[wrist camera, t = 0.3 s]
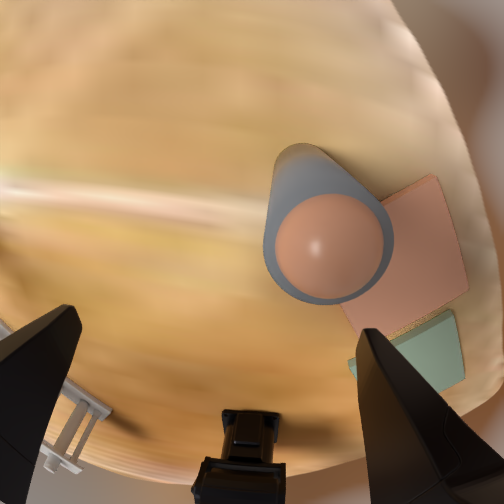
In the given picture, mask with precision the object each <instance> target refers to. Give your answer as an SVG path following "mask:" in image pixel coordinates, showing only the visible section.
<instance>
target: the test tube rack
mask: <svg viewBox="0 0 504 504" xmlns="http://www.w3.org/2000/svg"><path fill="white" fill-rule="evenodd" d="M12 333H14V331H12V330H11V329H10V328H9V327H8V326H7V325H6V324H5V323H4V322H3V321H2V320H1V319H0V340H2V339H4V338H5V337H7V336H9V335H10V334H12ZM61 393H62V394H63V395H64V396H66V397H67V398H68V399H70V400H71V401H73V402H74V403H75V404H77V406H76V407H75V409H74V411H73V412H72V414H71V416H70V418H69V419H68V421H67V423H66V425H65V426H64V428H63V430H62V432H61V434H60V435H59V437H58V439H57V441H56V443H55V445H54V446H53V448H51V447H50V446H48V445H47V444H46V443H44V442H43V441H42V444H41V447H40V451H41V452H42V453H44V454H45V455H47V456H48V458H47V460H46V462H44V463H45V465H44V468H46V469H47V470H49V471H50V472H52V473H55V471H57V468H58V466H59V464H61V465H62V466H63V467H65V468H67V469H69V470H70V471H72V472H73V473H75V474H77V473H79V472H81V471H82V470H83V467H81V466H79V465H78V464H77V459H78V457H79V455H80V453H81V451H82V449H83V447H84V445H85V443H86V441H87V439H88V437H89V435H90V433H91V431H92V429H93V427H94V425H95V423H96V421H97V419H99V420H101V421H103V420H104V419H105V418H106V417H107V416H108V415H109V414H110V413H111V411H112V408H110V407H109V406H107V405H105V404H104V403H102V402H101V401H99V400H98V399H97V398H95V397H94V396H92V395H91V394H89V393H88V392H86V391H85V390H84V389H82V388H81V387H79V386H78V385H77V384H75V383H74V382H73V381H71V380H70V379H69V378H67V377H66V378H65V381H64V383H63V386H62V388H61V391H60V393H59V396H60V394H61ZM59 396H58V397H59ZM86 412H88V413H90V414H91V415H92V418H91V420H90V422H89V424H88V426H87V427H86V429H85V431H84V433H83V435H82V437H81V439H80V441H79V443H78V445H77V447H76V449H75V451H74V453H73V455H72V457H70V459H68V458H66V457H65V456H64V454H65V452H66V450H67V449H68V447H69V445H70V443H71V441H72V439H73V437H74V435H75V433H76V431H77V429H78V428H79V426H80V424H81V422H82V420H83V418H84V416H85V414H86Z"/></svg>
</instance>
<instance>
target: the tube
mask: <svg viewBox="0 0 504 504" xmlns="http://www.w3.org/2000/svg"><path fill="white" fill-rule="evenodd" d="M393 248H394V232H393V226H392V223H391V220H390V217H389V215H388V213H387V211H386V210H385V208H384V207H383V205H382V204H381V203H380V202H379V201H378V200H377V199H376V198H375V197H374V196H373V195H372V194H371V193H370V192H369V191H368V190H367V189H366V188H365V187H364V186H362V185H361V184H360V183H359V182H358V181H357V180H356V179H355V178H353V177H352V176H351V175H350V174H349V173H348V172H347V171H345V170H344V169H343V168H342V167H341V166H340V165H339V164H337V163H336V162H335V161H334V160H333V159H331V158H330V157H329V156H328V155H327V154H325V153H324V152H323V151H322V150H320V149H319V148H318V147H316V146H314V145H311V144H306V143H299V144H294V145H291V146H289V147H287V148H286V149H284V150H283V151H282V152H281V153H280V154H279V156H278V157H277V159H276V162H275V165H274V171H273V178H272V185H271V192H270V198H269V205H268V212H267V219H266V226H265V232H264V240H263V253H264V259H265V263H266V266H267V269H268V271H269V273H270V275H271V276H272V278H273V279H274V281H275V282H276V283H277V284H278V285H279V286H280V287H281V289H283V290H284V291H285V292H286V293H288V294H289V295H291V296H293V297H294V298H296V299H299V300H301V301H304V302H307V303H311V304H317V305H333V304H340V303H343V302H347V301H350V300H352V299H355V298H357V297H359V296H360V295H362V294H364V293H365V292H367V291H368V290H369V289H371V288H372V287H373V286H374V285H375V284H376V283H377V282H378V281H379V280H380V278H381V277H382V276H383V274H384V273H385V271H386V269H387V267H388V265H389V263H390V260H391V258H392V254H393Z"/></svg>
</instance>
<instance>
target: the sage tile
mask: <svg viewBox="0 0 504 504" xmlns="http://www.w3.org/2000/svg"><path fill="white" fill-rule="evenodd" d="M390 342H391V343H392V344H393V345H394V347H395V348H396V349H397V350H398V351H399V352H400V353H401V354H402V355H403V356H404V357H405V358H406V359H407V360H408V361H409V362H410V363H411V365H412V366H413V367H414V368H415V369H416V370H417V371H418V372H419V373H420V374H421V375H422V376H423V377H424V378H425V380H426V381H427V382H428V383H429V384H430V385H431V386H432V387H433V388H434V389H435V390H436V391H437V393H440V392H441V391H443V390H445V389H447V388H449V387H451V386H453V385H455V384H456V383H458V382H460V381H462V380H463V379H465V373H464V366H463V360H462V354H461V348H460V343H459V337H458V332H457V327H456V323H455V318H454V315H453V313H452V312H451V310H450V309H449V310H447V311H445V312H444V313H442V314H440V315H438V316H437V317H435V318H433V319H431V320H429V321H428V322H426V323H424V324H422V325H420V326H418V327H417V328H415V329H413V330H411V331H409V332H407V333H405V334H403V335H401V336H399V337H397V338H395V339H393V340H391V341H390ZM348 365H349V368H350V370H351V372H352V373H353V375H354V376H355V378H356V380H357V368H356V357H355V358H353V359H350V360H348Z"/></svg>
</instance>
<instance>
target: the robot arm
mask: <svg viewBox="0 0 504 504" xmlns="http://www.w3.org/2000/svg"><path fill="white" fill-rule="evenodd" d="M81 332H82V323H81V321H80V318H79V316H78V313H77V311H76V309H75V307H74V306H72V305H67V304H63V305H61V306H59V307H57V308H55V309H54V310H52V311H50V312H48V313H47V314H45V315H43V316H41V317H40V318H38V319H36V320H34V321H33V322H31V323H29V324H27V325H26V326H24V327H22V328H21V329H19V330H17V331H16V332H14V333H12V334H10V335H9V336H7V337H5V338H4V339H2V340H0V501H2V502H3V503H5V504H26V499H27V495H28V491H29V487H30V483H31V478H32V475H33V472H34V468H35V464H36V461H37V457H38V454H39V451H40V447H41V444H42V441H43V438H44V435H45V432H46V429H47V426H48V423H49V420H50V418H51V415H52V412H53V409H54V407H55V404H56V401H57V399H58V396H59V393H60V391H61V388H62V386H63V383H64V381H65V378H66V376H67V373H68V371H69V368H70V365H71V362H72V359H73V356H74V353H75V350H76V347H77V344H78V341H79V338H80V335H81ZM356 368H357V387H358V403H359V410H360V416H361V423H362V430H363V437H364V444H365V452H366V460H367V468H368V477H369V486H370V498H371V504H504V459H503V458H502V457H501V456H500V455H499V454H498V453H497V452H496V451H495V450H493V449H492V448H491V447H490V446H489V445H488V444H487V443H486V442H485V441H483V439H481V438H480V437H479V436H478V435H477V434H476V433H475V432H474V431H473V430H472V429H471V428H470V427H469V426H468V425H467V424H466V423H465V422H464V421H463V420H462V419H461V418H460V417H459V416H458V415H457V413H456V412H455V411H454V410H453V409H452V408H451V407H450V406H448V404H447V402H446V401H445V400H444V399H443V398H442V397H441V396H440V395H439V394H438V393H437V391H436V390H435V389H434V388H433V387H432V386H431V385H430V384H429V383H428V382H427V381H426V380H425V378H424V377H423V376H422V375H421V374H420V373H419V372H418V371H417V370H416V369H415V368H414V367H413V366H412V365H411V363H410V362H409V361H408V360H407V359H406V358H405V357H404V356H403V355H402V354H401V353H400V352H399V351H398V350H397V349H396V348H395V347H394V345H393V344H392V343H391V342H390V341H389V340H388V339H387V338H386V337H385V336H384V335H383V334H382V333H381V332H380V331H379V330H378V329H377V328H364V329H363V330H362V331H361V334H360V338H359V341H358V344H357V348H356ZM222 421H223V428H224V434H225V438H224V443H223V449H222V454H221V459H217V458H211V457H207V456H206V457H205V460H204V462H201V467H200V471H199V473H198V476H197V478H196V480H195V482H194V484H193V486H192V488H191V492H192V493H193V495H194V499H195V504H285V494H286V463H281V464H280V463H273V448H274V443H276V442H277V435H278V424H279V415H278V414H276V413H257V412H241V411H229V410H224V411H222Z"/></svg>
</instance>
